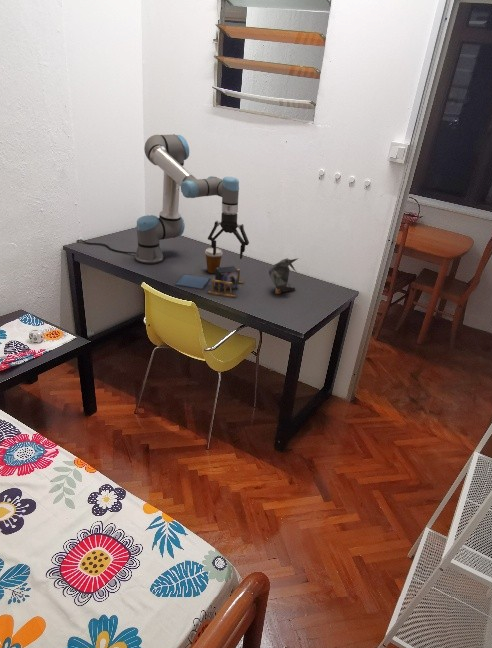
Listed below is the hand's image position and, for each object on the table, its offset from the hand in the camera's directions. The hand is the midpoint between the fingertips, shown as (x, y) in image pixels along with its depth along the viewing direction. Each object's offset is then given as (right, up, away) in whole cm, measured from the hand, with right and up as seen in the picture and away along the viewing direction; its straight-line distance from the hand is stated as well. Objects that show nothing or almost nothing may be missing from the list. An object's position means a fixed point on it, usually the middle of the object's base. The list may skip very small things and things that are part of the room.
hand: (227, 256), depth 226 cm
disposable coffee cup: (-11, -2, +26) cm, 29 cm away
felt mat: (-19, -11, +12) cm, 25 cm away
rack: (-2, -14, +10) cm, 17 cm away
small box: (-2, -14, +10) cm, 18 cm away
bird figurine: (+27, -15, +13) cm, 34 cm away
